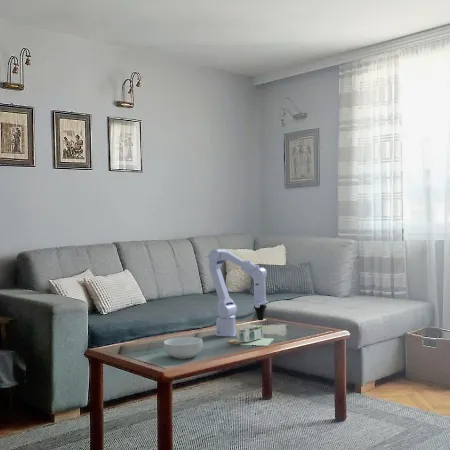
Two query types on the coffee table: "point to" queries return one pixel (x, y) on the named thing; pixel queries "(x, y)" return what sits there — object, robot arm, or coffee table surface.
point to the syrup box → (249, 334)
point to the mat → (259, 342)
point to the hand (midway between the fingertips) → (260, 320)
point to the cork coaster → (234, 341)
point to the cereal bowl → (183, 347)
